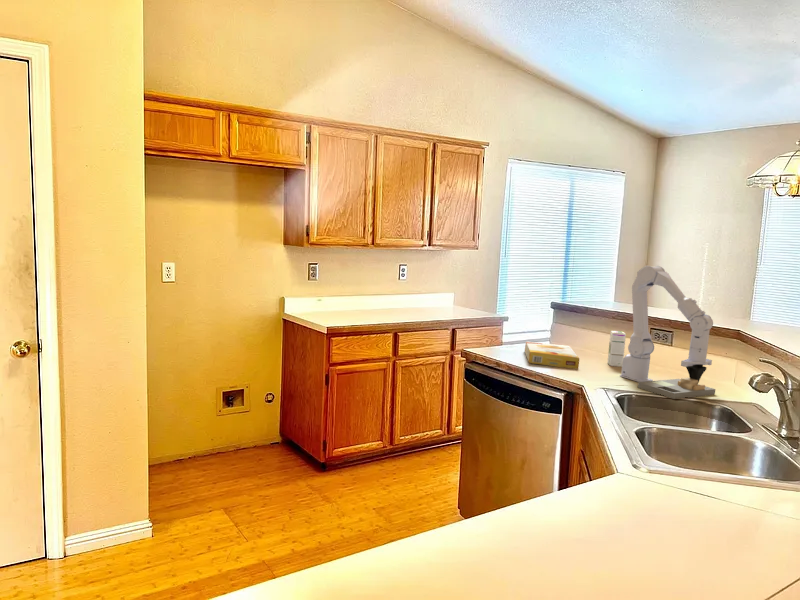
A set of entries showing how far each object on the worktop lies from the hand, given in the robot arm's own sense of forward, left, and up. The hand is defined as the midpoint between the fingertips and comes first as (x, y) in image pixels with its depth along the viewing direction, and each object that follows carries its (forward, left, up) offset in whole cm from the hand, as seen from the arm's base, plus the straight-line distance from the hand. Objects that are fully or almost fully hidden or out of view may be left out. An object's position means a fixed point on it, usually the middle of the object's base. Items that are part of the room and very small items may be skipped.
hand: (693, 385), depth 213 cm
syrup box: (-42, +7, -3) cm, 43 cm away
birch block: (0, -3, -1) cm, 3 cm away
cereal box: (-57, -16, -3) cm, 59 cm away
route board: (-3, -5, -3) cm, 7 cm away
